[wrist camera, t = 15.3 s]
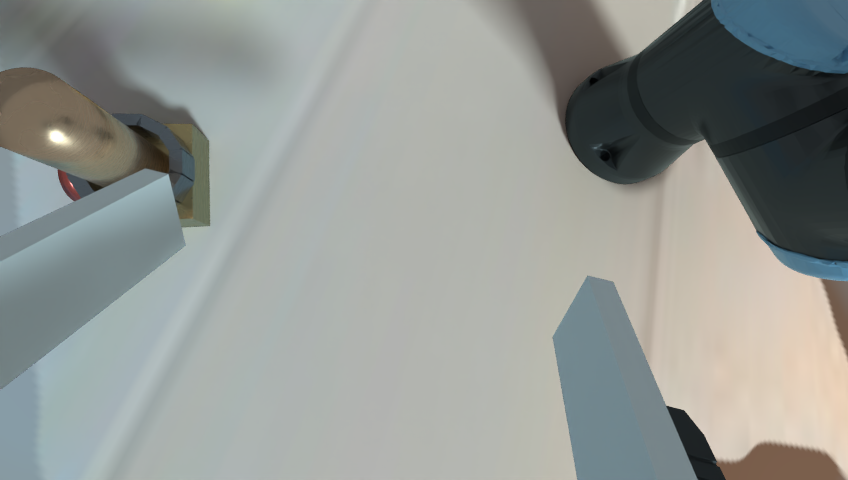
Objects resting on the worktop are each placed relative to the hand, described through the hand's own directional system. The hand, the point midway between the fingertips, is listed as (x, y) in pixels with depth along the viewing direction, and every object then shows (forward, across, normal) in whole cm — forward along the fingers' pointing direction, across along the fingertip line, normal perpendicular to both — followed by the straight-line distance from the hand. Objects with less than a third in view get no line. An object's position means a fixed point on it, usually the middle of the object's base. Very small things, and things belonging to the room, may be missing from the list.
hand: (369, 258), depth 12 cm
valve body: (+20, -26, -13) cm, 35 cm away
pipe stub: (+17, -25, -10) cm, 32 cm away
